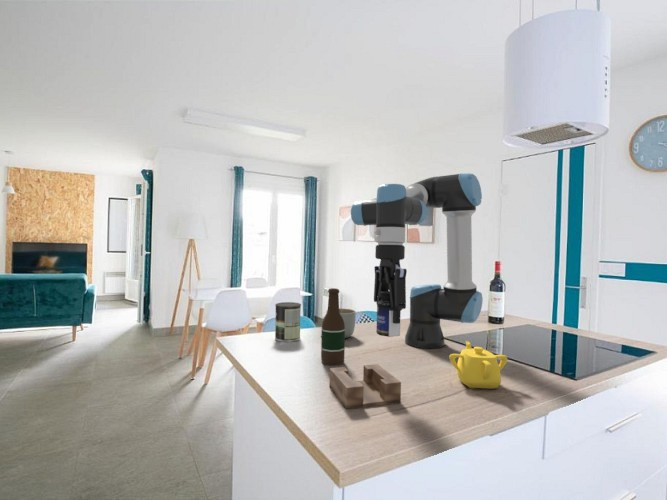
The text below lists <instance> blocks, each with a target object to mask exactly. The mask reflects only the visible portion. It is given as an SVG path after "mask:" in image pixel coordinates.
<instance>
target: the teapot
mask: <svg viewBox="0 0 667 500" xmlns="http://www.w3.org/2000/svg"><path fill="white" fill-rule="evenodd" d="M465 345H466V346H465V347H466V348H463V349H461V352H460V353H450V354H449V360H450V363H451V364H452V366H453V367H454V369H456V375H457V377H458V379H459V380H460V382H461V383H462V384H464V385H465V386H467V387H468V388H469V389H488V390H493V389H498V388H499V387H500V385H501V382H502V375H501V371H502V370H503V368H504V367H505V366H506V364H507V362H508V357H507V355H505V354H494V353H492V352H491V351H490V350H489V351H488V350H487V349H484V348H483V347H481V346H474V347H473V346H472V345H471V342H470V341H468V340H465ZM472 347H473V348H472ZM456 358H458V360H457V362H456ZM498 359H500V362H499V363H498Z"/></svg>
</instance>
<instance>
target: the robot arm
mask: <svg viewBox="0 0 667 500" xmlns="http://www.w3.org/2000/svg"><path fill="white" fill-rule="evenodd" d="M481 187H482V186H481V185H480V181H479V179H478V177H477V176H476V175H475V174H473V173H470V172H469V173H456V174H448V175H440V176H432V177H428V178H425V179H421V180H419V181H417V182H414V183H411V184H409V185H407V187H406V186H405V185H404V184H401V183H384V184H381V185H379V186H378V187H377V191H376V198H372V199H369V200H368V199H367V200H365V199H364V200H363V199H362V200H358V201H355V202H354V203H353V204H352V205H351V207H350V208H351V209H350V219H351V220H352V222H353V224H355V225H357V226H364V227H365V226H376V228H375V231H374V235H375V242H376V243H377V244H376V246H375V255H374V256H375V259H377V260H380V261H379V266H377V265H376V266H374V290H373V302H374V303H376V304H377V303H378V301H380V300H381V297H380V292H381V291H389V294H390V302H391V308H389V336H393V337H401V314H400V311H402V310H406V308H407V295H406V293H407V292H406V290H407V287H406V281H407V280H406V279H407V278H406V277H407V271H408V270H407V268H402V267H401V263H400V262H401V261H402V260H404V259H405V258H406V257H405V254H406V252H405V251H406V250H405V249H406V248H405V245H403V244H404V243H406V225H409V226H416V225H420V224H421V223H423V222H424V221H425V220H426V218H427V215H428V209H437V208H438V209H439V208H440V209H441V212H442V214H443V215H444V216H445V217H446V258H447V259H446V261H447V263H446V265H447V269H446V270H447V281H446V282H445V283H444V284H443V287H442V286H441V284H424V285H423V284H422V285H415V286H413V287H412V288H411V289H410V296H409V324H408V328H407V331H406V333H405V335H404V336H405V337H404V342H405V344H406V345H409V346H411V347H414V348H415V347H416V348H421V349H422V348H423V349H437V348H438V349H439V348H442V347H444V346H445V343H446V342H445V340H446V339H445V336H444V334H443V331H442V329H443V328H442V326H441V320H442V321H443V320H445V321H450V322H459V323H462V324H463V323H465V324H473V323H476V321H477V320H478V319H479V318H480V317H479V316H480V314H481V312H482V307H483V302H484V301H483V294H482V292H481V291H479V290H477V285H476V283H474V282H473V261H472V260H473V258H472V257H473V255H472V254H473V249H472V248H473V246H472V245H473V244H472V243H473V241H472V240H473V238H472V216H473V215H474V214H475V213H476V210H477V209H476V208H477V207H478V206H480V205H481V203H482V199H483V196H482V195H483V194H482V188H481Z"/></svg>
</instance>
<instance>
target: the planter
mask: <svg viewBox="0 0 667 500" xmlns="http://www.w3.org/2000/svg"><path fill="white" fill-rule="evenodd" d="M325 311H326V312H325V313H326V314H327V310H325ZM339 311H340V315H341V316H342V318H343V321H344V324H345V339H348V338H350V337H351V336H353V335H354V332H355V328H356V320H357V319H356V317H357V314H356V313H357V312H356V311H357V310H355V309H351V308H342V307H341V308H340V307H339ZM326 314H325V315H326Z"/></svg>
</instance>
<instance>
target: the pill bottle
mask: <svg viewBox="0 0 667 500" xmlns="http://www.w3.org/2000/svg"><path fill="white" fill-rule="evenodd" d="M380 297H381V300H380V301H378V303H376V334H377V335H379V336H383V337H387V338H388V337H390V338H392V337H394V336H389V308H391V302H390V294H389V291H381V292H380ZM401 311H402V310H401ZM401 311H400V315H401Z"/></svg>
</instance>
